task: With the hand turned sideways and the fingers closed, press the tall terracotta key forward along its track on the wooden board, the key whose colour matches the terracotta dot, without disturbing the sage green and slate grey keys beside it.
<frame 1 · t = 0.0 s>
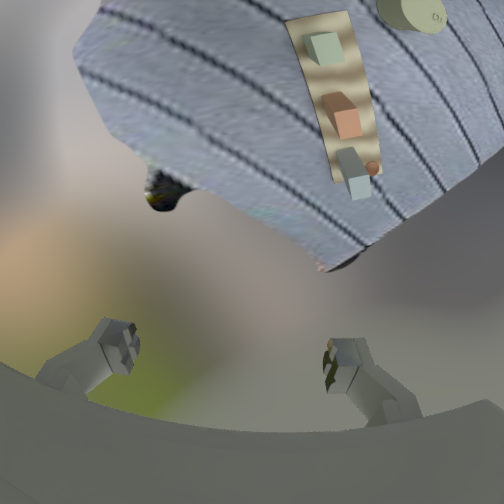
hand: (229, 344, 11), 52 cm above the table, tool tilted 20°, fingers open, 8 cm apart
sage key: (321, 46, 35), point 8 cm above the table, slide at 0.0 cm
wooden board: (341, 100, 49), on the table
can: (397, 10, 32), on the table
slate key: (353, 171, 52), point 8 cm above the table, slide at 0.0 cm
terracotta key: (340, 113, 44), point 8 cm above the table, slide at 0.0 cm
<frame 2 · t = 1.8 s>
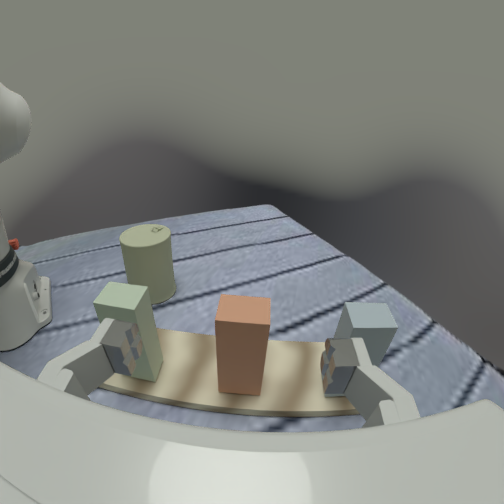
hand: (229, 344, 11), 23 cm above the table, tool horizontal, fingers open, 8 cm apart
sage key: (131, 335, 30), point 8 cm above the table, slide at 0.0 cm
wooden board: (241, 376, 35), on the table
can: (152, 290, 51), on the table
slate key: (355, 353, 29), point 8 cm above the table, slide at 0.0 cm
terracotta key: (242, 350, 29), point 8 cm above the table, slide at 0.0 cm
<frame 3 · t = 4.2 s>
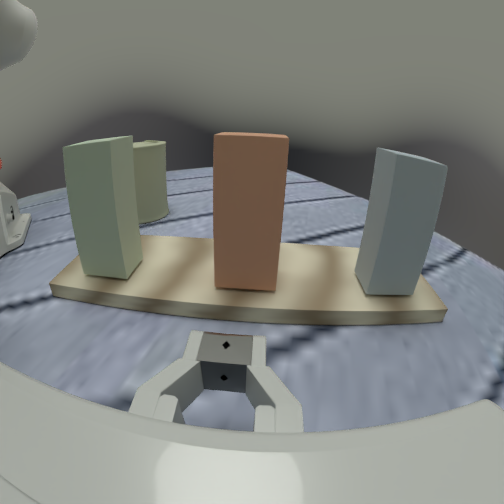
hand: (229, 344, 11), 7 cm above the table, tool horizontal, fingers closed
sage key: (103, 206, 22), point 8 cm above the table, slide at 0.0 cm
wooden board: (246, 280, 27), on the table
can: (141, 215, 43), on the table
slate key: (399, 223, 22), point 8 cm above the table, slide at 0.0 cm
terracotta key: (249, 210, 22), point 8 cm above the table, slide at 0.0 cm
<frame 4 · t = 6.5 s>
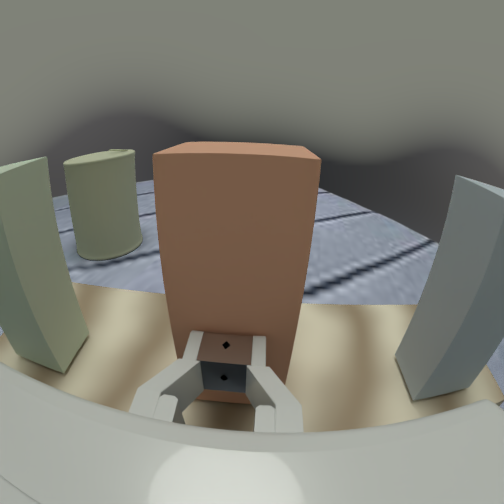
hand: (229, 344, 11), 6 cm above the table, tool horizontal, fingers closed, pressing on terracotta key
sage key: (19, 269, 12), point 8 cm above the table, slide at 0.0 cm
wooden board: (237, 372, 17), on the table
can: (109, 245, 33), on the table
slate key: (473, 298, 12), point 8 cm above the table, slide at 0.0 cm
terracotta key: (236, 289, 12), point 8 cm above the table, slide at 0.4 cm, touching gripper
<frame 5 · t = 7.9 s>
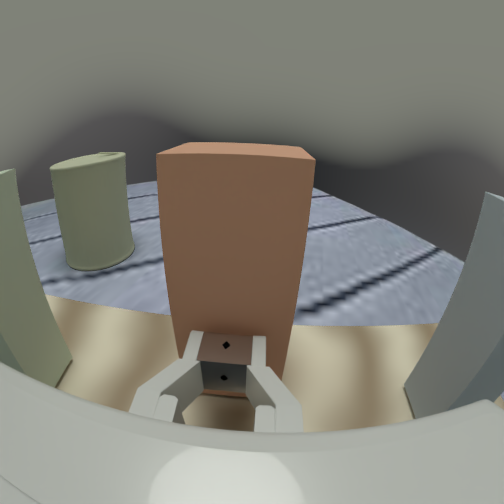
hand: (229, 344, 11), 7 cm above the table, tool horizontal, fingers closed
wooden board: (231, 403, 15), on the table
can: (100, 253, 31), on the table
slate key: (494, 329, 9), point 8 cm above the table, slide at 0.0 cm
terracotta key: (235, 284, 13), point 8 cm above the table, slide at 3.4 cm
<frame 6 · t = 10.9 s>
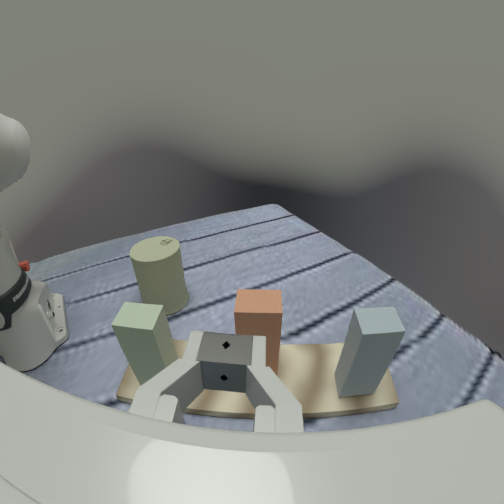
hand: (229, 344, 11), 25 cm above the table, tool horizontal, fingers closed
sage key: (150, 351, 31), point 8 cm above the table, slide at 0.0 cm
wooden board: (257, 382, 36), on the table
can: (165, 301, 52), on the table
slate key: (365, 356, 30), point 8 cm above the table, slide at 0.0 cm
terracotta key: (258, 338, 33), point 8 cm above the table, slide at 3.4 cm
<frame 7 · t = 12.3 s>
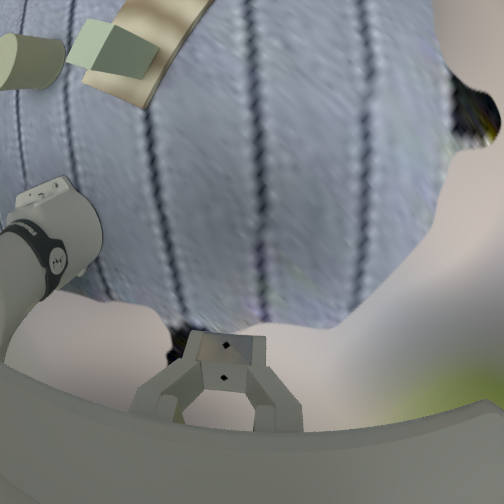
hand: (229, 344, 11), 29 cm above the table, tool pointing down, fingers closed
sage key: (117, 51, 22), point 8 cm above the table, slide at 0.0 cm
can: (47, 64, 28), on the table
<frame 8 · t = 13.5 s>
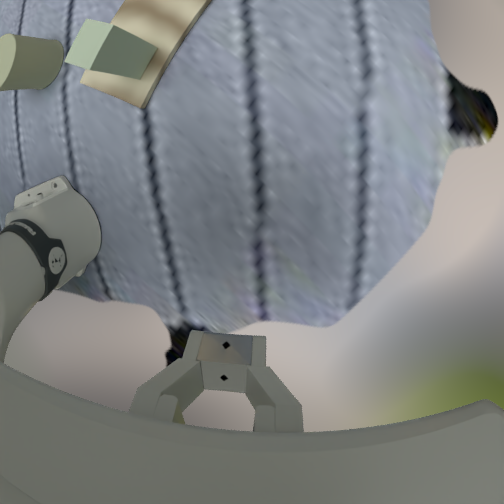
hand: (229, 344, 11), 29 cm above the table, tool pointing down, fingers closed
sage key: (115, 51, 22), point 8 cm above the table, slide at 0.0 cm
can: (45, 64, 28), on the table
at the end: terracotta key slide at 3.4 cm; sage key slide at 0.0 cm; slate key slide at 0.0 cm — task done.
